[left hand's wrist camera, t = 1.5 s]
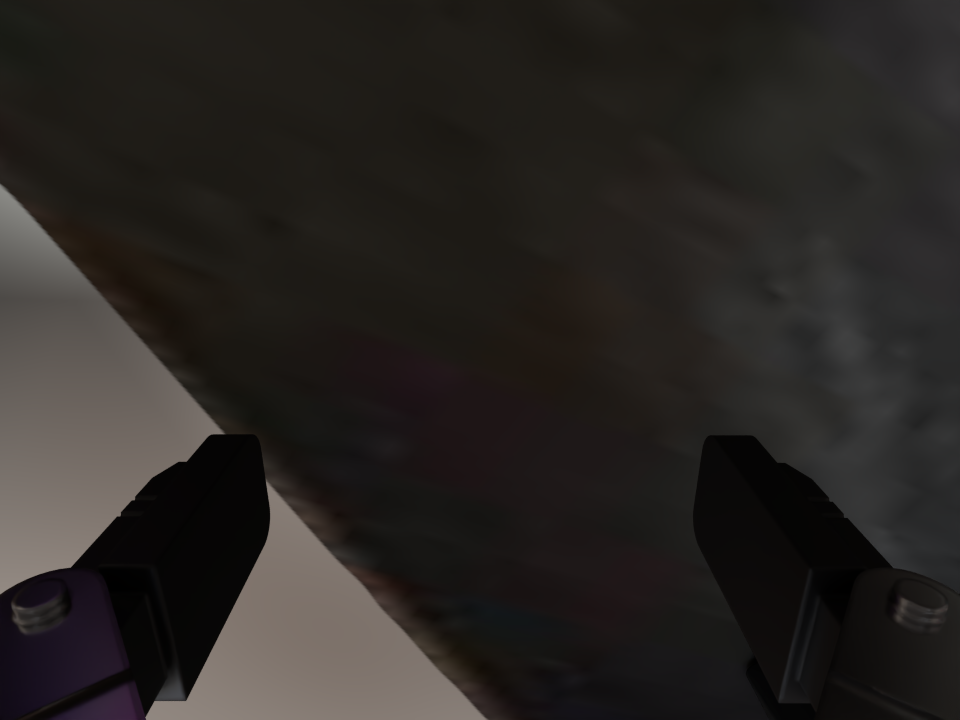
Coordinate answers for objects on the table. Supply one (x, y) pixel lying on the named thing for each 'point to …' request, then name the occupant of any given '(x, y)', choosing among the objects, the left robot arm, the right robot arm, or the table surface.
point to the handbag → (782, 715)
